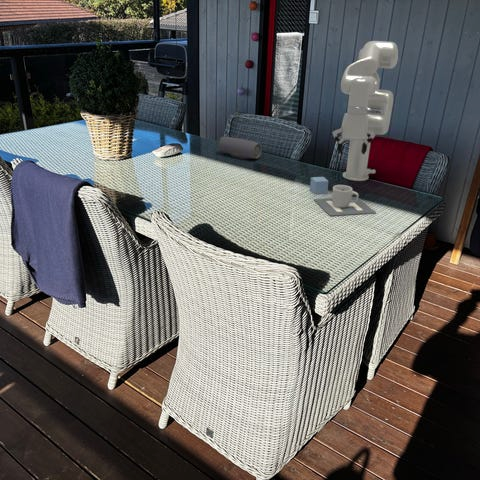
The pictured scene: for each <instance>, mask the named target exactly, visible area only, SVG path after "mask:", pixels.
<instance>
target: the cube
mask: <svg viewBox="0 0 480 480" xmlns="http://www.w3.org/2000/svg"><path fill="white" fill-rule="evenodd" d="M309 187H310V188H309V191H310V192H312V193H313V194H314V195H327V194H328V190H329V189H328V188H329V180H328V179H327V178H326V177H325V176H313V177H310V183H309Z"/></svg>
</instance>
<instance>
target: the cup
mask: <svg viewBox="0 0 480 480" xmlns="http://www.w3.org/2000/svg"><path fill="white" fill-rule="evenodd" d="M354 195H355V197H356V200H352V199H351V197H353V196H354ZM332 198H333V205H334V206H336V207H339V208H345V207H347V206H348V205H349V203H355V202H357V200H358V198H359V193H358V192H357V191H354V190H353V187H352V186H350V185H345V184H336V185H333V187H332Z"/></svg>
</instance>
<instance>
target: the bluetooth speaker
mask: <svg viewBox="0 0 480 480" xmlns="http://www.w3.org/2000/svg"><path fill="white" fill-rule="evenodd" d="M217 147H218V150H219V152H222V153H224V154H225V153H226V154H228V155H230V156H231V157H234V158H238V159H243V160H247V159H259V158H260V157H261V154H262V149H263V148H262V143H260V142H256V141H252V140H248V139H244V138H239V137H232V136H221V137H220V138H219V142H218V146H217Z"/></svg>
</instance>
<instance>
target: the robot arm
mask: <svg viewBox="0 0 480 480" xmlns="http://www.w3.org/2000/svg"><path fill="white" fill-rule="evenodd" d="M398 61H399V50H398V45H397V44H396V43H395V42H393V41H382V40H371V41H368V42H366V43H365V44H364V45H363V47H362V48H361V49H360V50H359V53H358V59H357V61H355V62H354V61H353V63H351V64H349V65H348V66H347V67H346V68H345V70H344V72H343V74H342V78H341V82H340V91H341V93H343V94H345V95H349V96H348V101H347V102H348V103H347V109H346V110H347V112H345V113H344V115H343V119H342V123H341V127H340V128H338V129H335V130H333V131H332V132H331V133H332V136H333V138H334V140H335V141H336V142H337V148H336V151H338V153H339V154H342V150H343V142H344V141H345V140H349V148H348V153H347V154H348V155H347V164H346V171H343V173H342V177H343V178H344V179H346V180H349V181H353V182H354V181H355V182H364V181H367V180H369V178H370V177H369V176H370V174H371V175H374V174H376V169H371V168H368V163H369V155H370V149H371V142H372V141H373V140H374V138H375V137H376V135H381V136H382V135H386V134H387V133H388V131H389V128H390V123H391V117H392V109H393V106H394V94H393V92H392V91H391V90H388V89H379V88H380V82H381V78H380V76H379V74H378V72H377V71H378V69H394V68H395V67H396V66H397V63H398ZM372 111H373V112H372ZM374 111H377V112H374ZM379 112H380V113H379ZM339 133H340V134H339ZM338 134H339V135H340V137H338ZM368 134H369V135H370V136H368Z"/></svg>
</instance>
